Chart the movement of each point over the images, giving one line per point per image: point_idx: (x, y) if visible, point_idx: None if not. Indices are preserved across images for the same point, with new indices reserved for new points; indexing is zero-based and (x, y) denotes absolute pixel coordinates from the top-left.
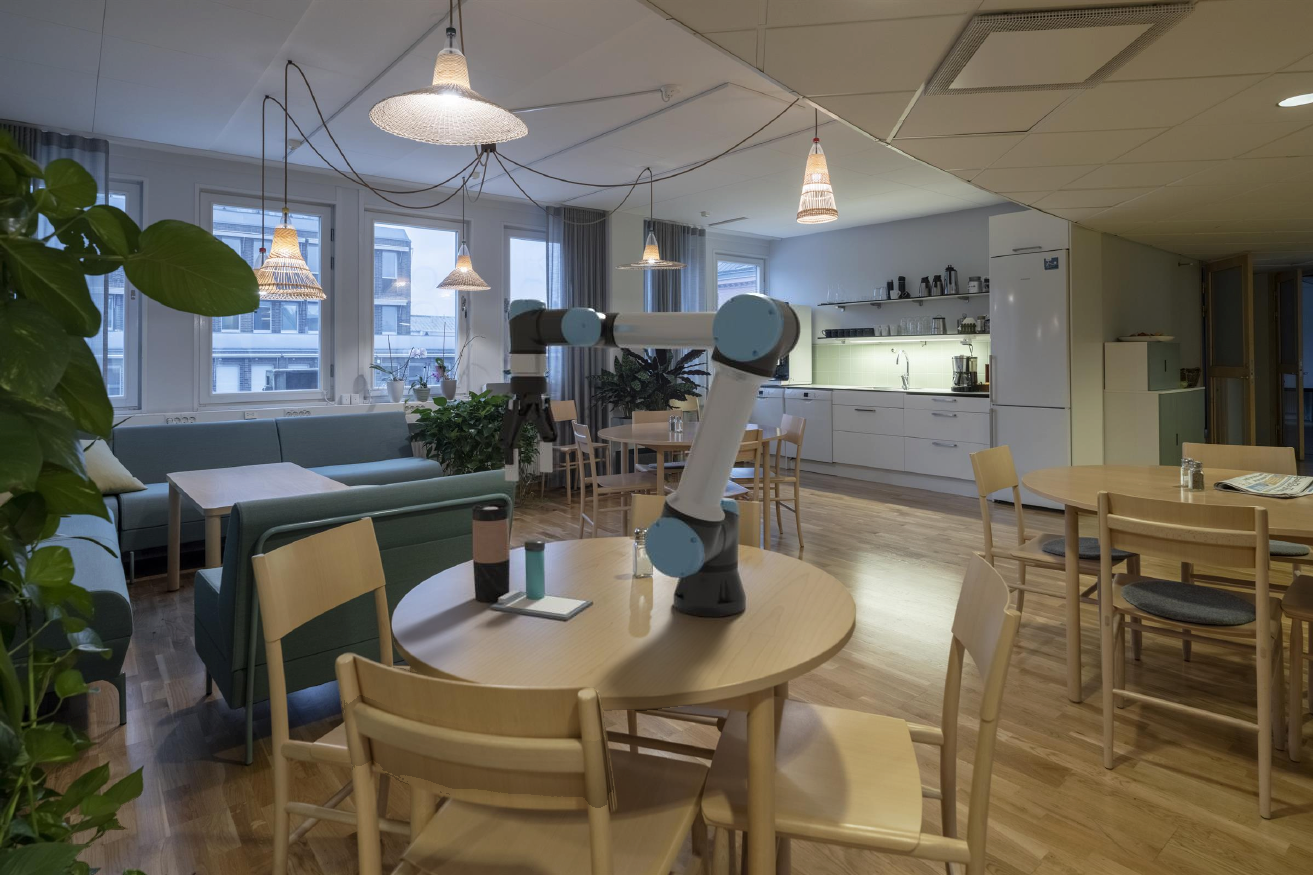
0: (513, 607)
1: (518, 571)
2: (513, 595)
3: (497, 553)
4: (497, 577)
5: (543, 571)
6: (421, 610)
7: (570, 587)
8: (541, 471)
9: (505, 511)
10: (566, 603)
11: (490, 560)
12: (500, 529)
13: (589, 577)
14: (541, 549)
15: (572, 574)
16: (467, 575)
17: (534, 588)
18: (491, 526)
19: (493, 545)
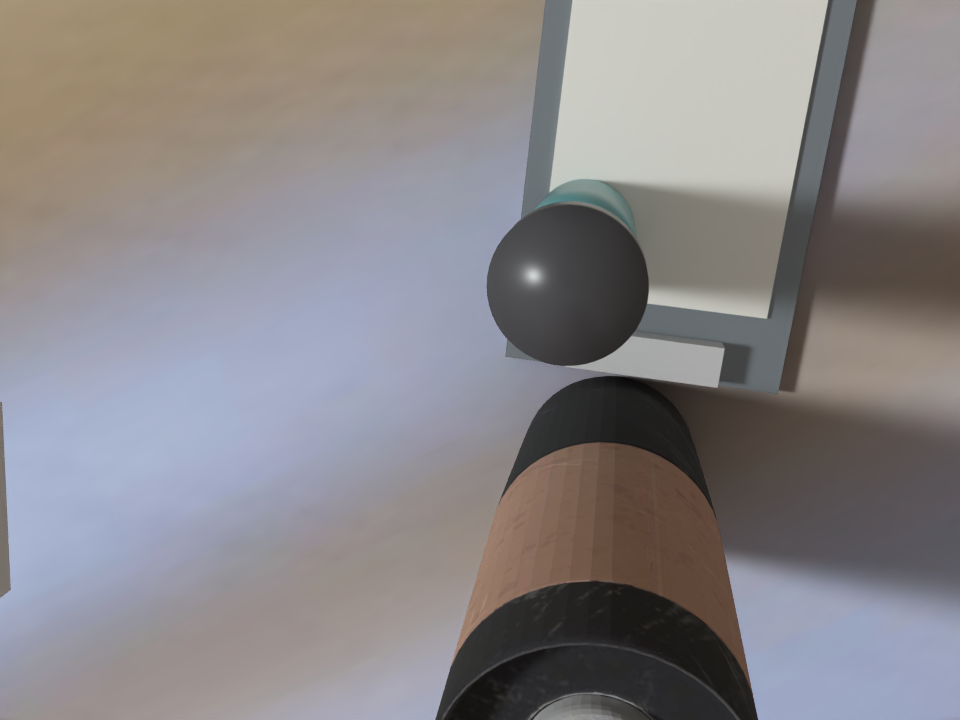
0: (774, 270)
1: (163, 514)
2: (638, 336)
3: (691, 499)
4: (681, 442)
5: (582, 191)
6: (865, 681)
7: (321, 135)
8: (3, 569)
9: (611, 620)
10: (652, 8)
11: (714, 517)
12: (677, 563)
13: (118, 105)
14: (603, 208)
15: (104, 221)
16: (311, 712)
17: (633, 220)
18: (733, 633)
19: (713, 545)
